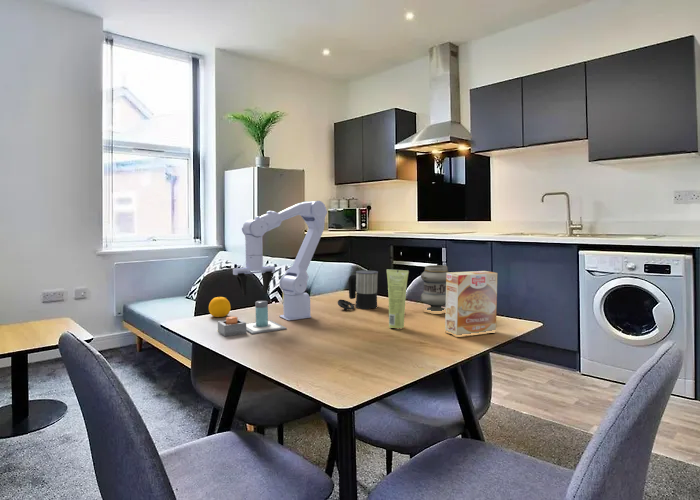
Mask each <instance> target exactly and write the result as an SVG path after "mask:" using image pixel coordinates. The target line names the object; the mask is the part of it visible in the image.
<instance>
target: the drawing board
mask: <svg viewBox="0 0 700 500" xmlns="http://www.w3.org/2000/svg"><path fill="white" fill-rule="evenodd" d="M287 329H288V328H287V327H286V326H284V325H281V324H280V323H277V322H275V321H273V320H271V319H270V320H269V319H268V326H266V327H256V321H255V322H250V323H249V322H248V323H247V322H246V333H249V334H250V335H257V334H262V333H263V334H264V333H270V332H277V331H282V330H283V331H284V330H287Z"/></svg>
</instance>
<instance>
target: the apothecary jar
mask: <svg viewBox="0 0 700 500" xmlns="http://www.w3.org/2000/svg"><path fill="white" fill-rule="evenodd" d="M446 273H450V271H449V269H448V266H447V265H443V264H442V265H441V264H440V265H439V264H434V265H433V264H430V265H426V266H424V271H423V272H422V273H421V274H420V278H421V280H422V281H423V292H422V293H420V300H421V302H422V303H424V304H426V305H428V306H430V307H426V308H427V310H431V311H442V310H444V309H446V307H444V306H446Z"/></svg>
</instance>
